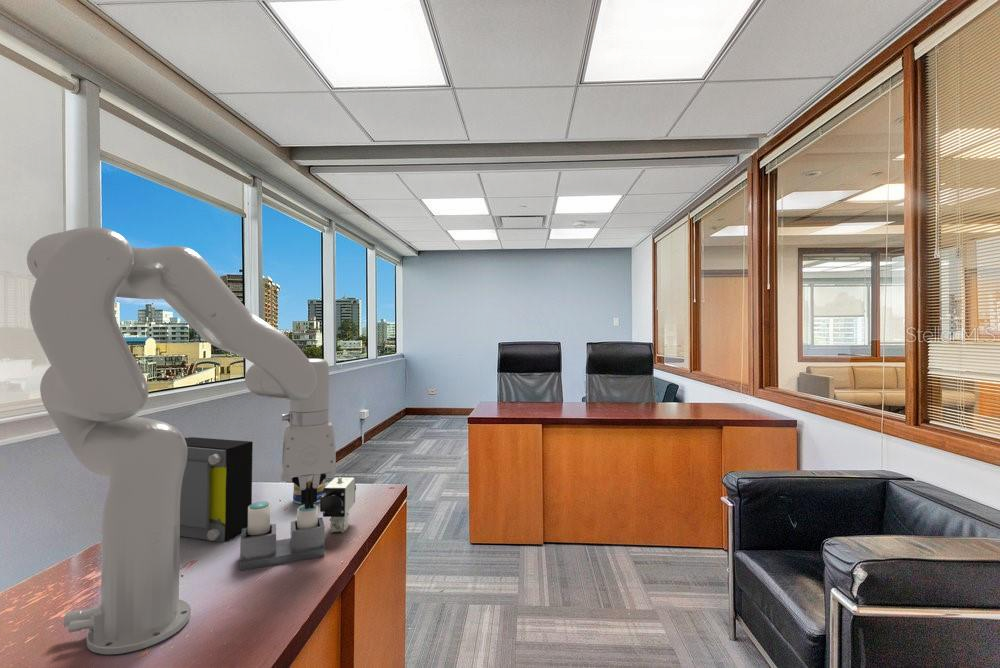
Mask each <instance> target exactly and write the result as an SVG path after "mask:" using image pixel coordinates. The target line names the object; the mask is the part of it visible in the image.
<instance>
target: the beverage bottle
mask: <svg viewBox="0 0 1000 668" xmlns="http://www.w3.org/2000/svg"><path fill="white" fill-rule="evenodd" d="M312 477H313V475H310V476H305V481H306V483H307V484H308V487H309V486H310V483H311V482H312ZM325 484H326V478H325V479H324V480H323V481H322V482H321V484H320V485H319V486H318V488H317V502H314V504H317V503H320V498H321V497H322V496H323V489H324V488H325V487H324V485H325ZM292 494H293V496H292V501H293V502H294V503H295V504H299V505H302V504H301V489H300V487H298V486H297V485H296V484H295V483H293V493H292Z"/></svg>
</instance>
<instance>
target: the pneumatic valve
mask: <svg viewBox="0 0 1000 668" xmlns="http://www.w3.org/2000/svg"><path fill="white" fill-rule="evenodd" d="M324 487H325V488H324V489H323V496H322V497H321V498H320V502H319V505H320V506H319V508H320V509H319V511H320V513H322V518H328V517H329V521H330V524H329V525H330V529H329V533H343V534H344V533H345V532H346V530H347V529H348V528H349V527H350V524H349V516H350V513H349V511H350V510H351V508H353V506H354V504H355V503H356V490H357V485H356V476H335V477H334V478H332V480H331V481H327V482H325V485H324Z"/></svg>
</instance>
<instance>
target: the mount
mask: <svg viewBox="0 0 1000 668" xmlns="http://www.w3.org/2000/svg"><path fill="white" fill-rule="evenodd" d="M325 528H326V527H325V523H324V519H323V516H322V517H318V527H313V528H307V529H300V530H297V519H296V520H293V521H290V537H289V538H284V539H278V540H277V523H270V531H269V532H267V533H265V534H261V535H249V534H248V527H247V528H242V532H241V534H240V544H239V546H240V549H239V551H240V552H239V560H240V563H239V564H240V565H239V570H240V572H241V571H247V570H252V569H258V568H264V567H270V566H276V565H281V564H286V563H292V562H298V561H304V560H309V559H317V558H322V557H325V536H326V535H325V531H326V529H325Z"/></svg>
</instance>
